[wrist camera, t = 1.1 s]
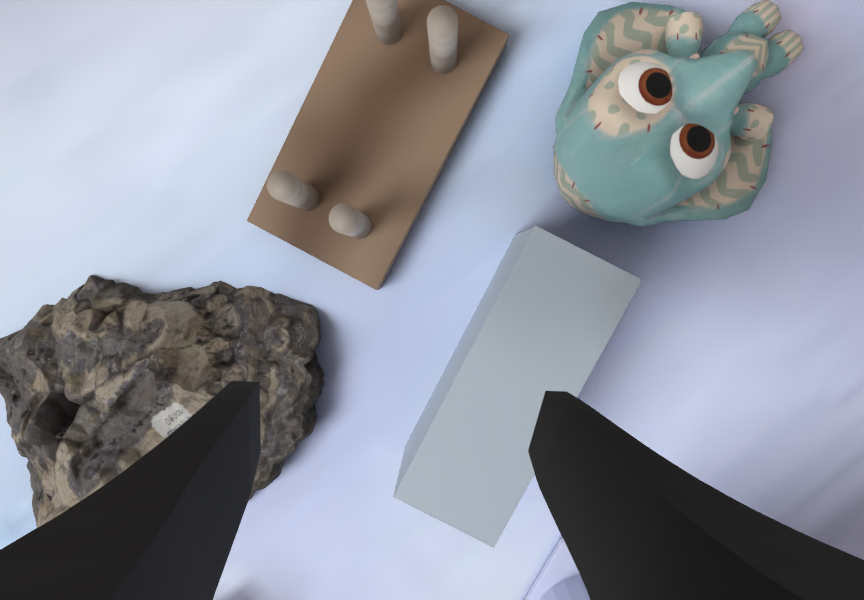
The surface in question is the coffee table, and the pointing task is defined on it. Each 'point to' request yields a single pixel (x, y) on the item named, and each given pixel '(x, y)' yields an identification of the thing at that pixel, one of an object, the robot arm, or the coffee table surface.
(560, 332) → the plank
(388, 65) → the peg stand
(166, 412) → the geode
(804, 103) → the coffee table surface
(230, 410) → the robot arm
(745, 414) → the coffee table surface
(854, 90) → the coffee table surface
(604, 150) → the stuffed animal
